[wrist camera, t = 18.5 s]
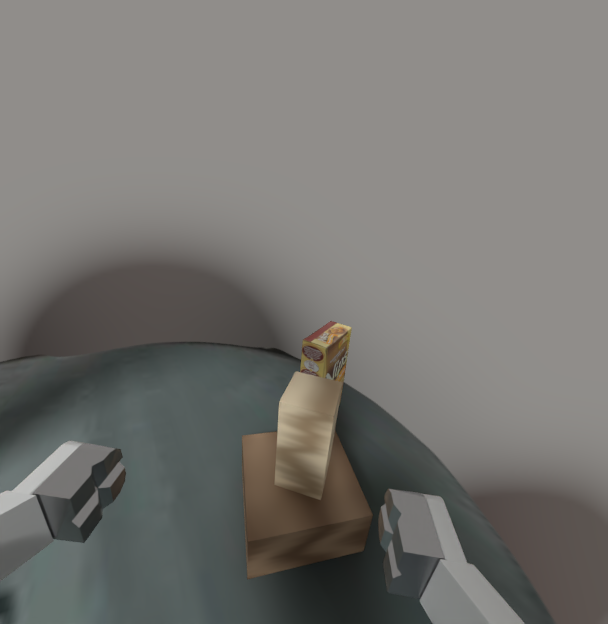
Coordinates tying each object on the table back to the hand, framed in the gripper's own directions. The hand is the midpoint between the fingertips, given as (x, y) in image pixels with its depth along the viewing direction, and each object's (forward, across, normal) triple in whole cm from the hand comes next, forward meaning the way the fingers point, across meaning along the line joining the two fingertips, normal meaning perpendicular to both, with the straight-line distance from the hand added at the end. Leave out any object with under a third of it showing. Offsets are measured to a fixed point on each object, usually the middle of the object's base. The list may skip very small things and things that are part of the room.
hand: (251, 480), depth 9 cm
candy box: (+32, -4, +26) cm, 42 cm away
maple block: (+16, -2, +20) cm, 26 cm away
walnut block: (+16, -2, +26) cm, 31 cm away
